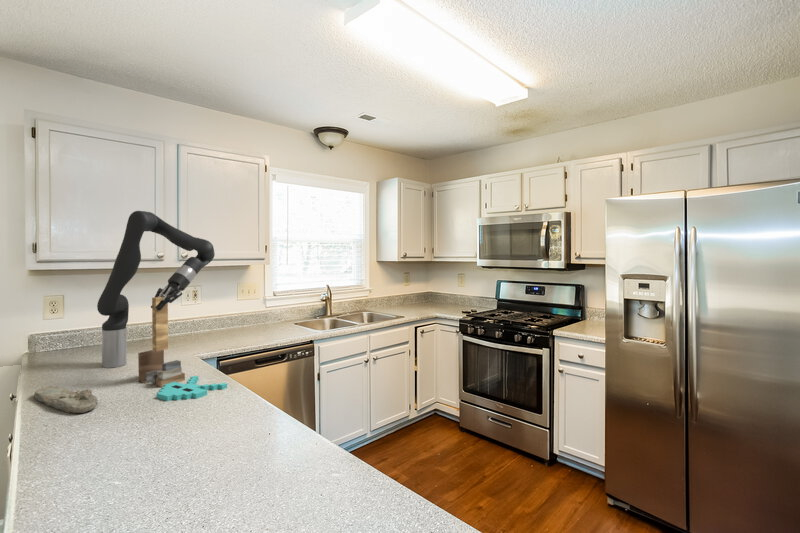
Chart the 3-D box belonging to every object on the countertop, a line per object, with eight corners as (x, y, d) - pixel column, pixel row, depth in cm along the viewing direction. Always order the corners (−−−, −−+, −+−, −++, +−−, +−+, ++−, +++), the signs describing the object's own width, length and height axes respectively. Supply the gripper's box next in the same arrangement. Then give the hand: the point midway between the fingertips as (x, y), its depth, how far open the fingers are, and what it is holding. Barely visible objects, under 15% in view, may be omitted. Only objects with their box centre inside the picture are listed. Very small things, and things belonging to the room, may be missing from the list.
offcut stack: (155, 385, 159) (155, 365, 158) (179, 378, 168) (179, 359, 168) (161, 387, 157) (161, 366, 157) (185, 380, 166) (185, 360, 166)
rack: (138, 381, 164) (138, 353, 163) (162, 374, 173) (161, 347, 172) (153, 385, 160) (152, 355, 159) (176, 378, 169) (176, 350, 168)
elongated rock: (58, 394, 153) (25, 404, 144) (57, 380, 153) (23, 390, 144) (107, 406, 137) (73, 418, 128) (106, 391, 137) (71, 402, 128)
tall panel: (152, 350, 163) (152, 297, 162) (164, 348, 168) (163, 296, 167) (156, 351, 162) (155, 298, 161) (168, 348, 167) (167, 296, 166)
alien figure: (195, 380, 167) (146, 395, 149) (195, 375, 167) (146, 390, 149) (227, 389, 158) (179, 406, 140) (227, 383, 158) (179, 399, 140)
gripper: (166, 271, 173) (137, 302, 163) (187, 272, 167) (159, 304, 157) (177, 282, 178) (150, 313, 168) (198, 284, 172) (172, 315, 162)
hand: (155, 308), depth 162 cm, fingers closed on tall panel, 2 cm apart
